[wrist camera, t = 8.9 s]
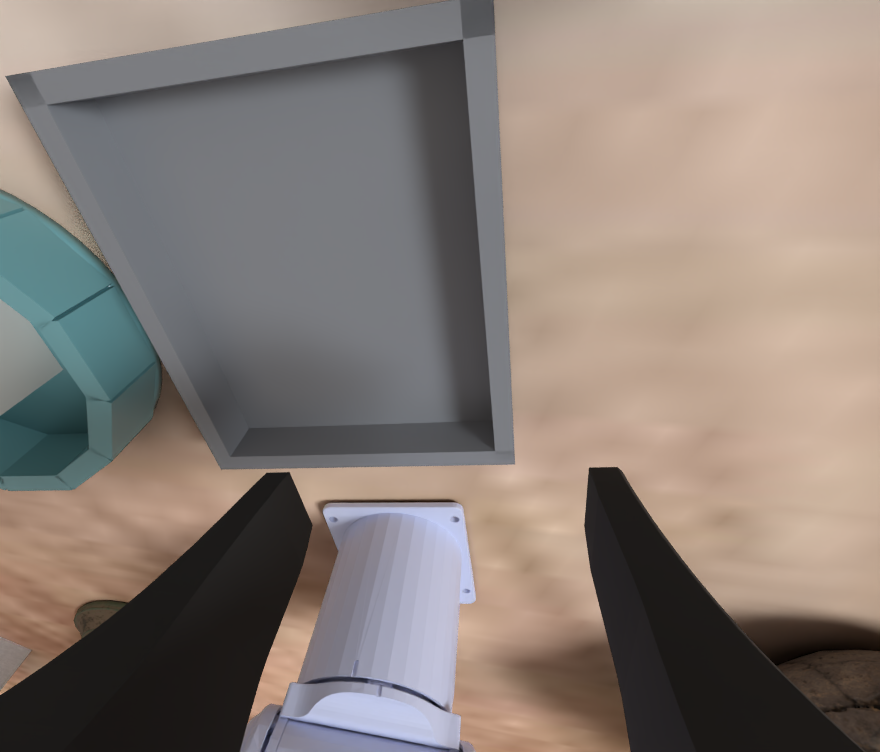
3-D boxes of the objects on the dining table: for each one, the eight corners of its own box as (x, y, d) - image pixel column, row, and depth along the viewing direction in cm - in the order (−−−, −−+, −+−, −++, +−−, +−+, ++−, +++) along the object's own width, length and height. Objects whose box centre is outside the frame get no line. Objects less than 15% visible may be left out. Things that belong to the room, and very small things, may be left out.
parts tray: (513, 426, 22) (514, 464, 20) (244, 433, 24) (221, 469, 22) (493, 2, 13) (493, -7, 11) (71, 73, 15) (5, 76, 13)
